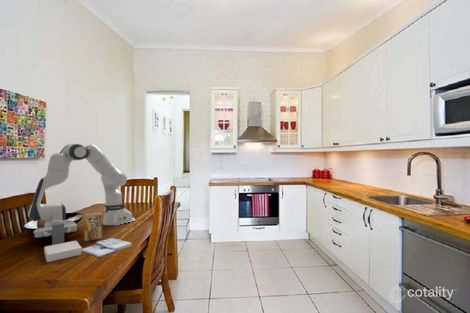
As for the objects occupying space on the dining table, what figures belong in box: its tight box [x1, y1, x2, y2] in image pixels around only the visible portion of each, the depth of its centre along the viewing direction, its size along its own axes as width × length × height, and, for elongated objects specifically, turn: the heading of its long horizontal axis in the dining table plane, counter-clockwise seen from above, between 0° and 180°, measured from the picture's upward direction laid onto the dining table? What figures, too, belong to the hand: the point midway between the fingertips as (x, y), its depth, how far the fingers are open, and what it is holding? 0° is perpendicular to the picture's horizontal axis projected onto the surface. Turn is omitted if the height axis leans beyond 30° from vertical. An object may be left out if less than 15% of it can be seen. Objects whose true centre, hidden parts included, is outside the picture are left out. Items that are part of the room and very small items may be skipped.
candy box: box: [84, 212, 103, 242], centre depth 147 cm, size 9×4×15 cm, turn 119°
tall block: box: [51, 222, 65, 245], centre depth 138 cm, size 5×5×12 cm
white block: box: [43, 240, 82, 263], centre depth 125 cm, size 14×14×4 cm
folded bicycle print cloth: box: [81, 237, 133, 258], centre depth 134 cm, size 19×20×2 cm
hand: (58, 233), depth 137 cm, fingers open, 8 cm apart
